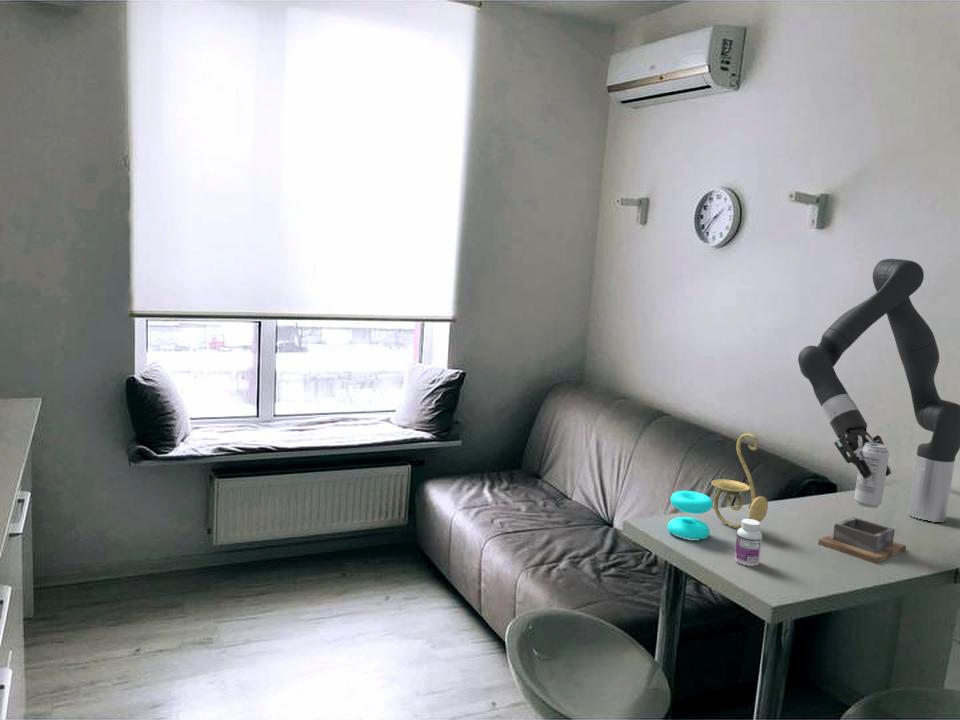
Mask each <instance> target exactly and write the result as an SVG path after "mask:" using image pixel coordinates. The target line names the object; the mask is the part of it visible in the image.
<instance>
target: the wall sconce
mask: <svg viewBox="0 0 960 720" xmlns="http://www.w3.org/2000/svg"><path fill="white" fill-rule="evenodd" d="M745 438H750V439H752V441H753V442H754V446H752V445H751V444H748V445H747V446H748V449H749V450H751V451H752V452H753V451H756V450H757V449H759V447H760V446H759V445H760V443H759V440H758V437H756V436H755V435H754V434H752V433H749V432H747V433H743V434H741V435H740V436H739V437H738V439H737V442H736V452H737V457H738V458H739V461H740V463H741V466H742V468H743V470H744V472H745V476H746V477H747V481H748V484H749V485H748V484H746V483H744V482H742V481H737V480H731V479H722V478H721V479H714V480H711V482H710V483H711V485H712V486H713V487H715V488H716V489H719V490H717V492H716V493H715V495H714V500H713V509H714V511H715V514H716V516H717V518H718V519H719V520H720V521H721V522H722V523H723V522H724V523H726V524H728V525H731V526H732V527H735V528H734V529H740V528H742V527H741V524H735V523H732V522H729V521H728V520H726V519H725V518H724V516H722V514H721V512H720V510H719V506H718V505H719V504H718V502H719V498H720V495H721V494H722V493H724V492H725V493H726V494H727V495H728V496H725V498H726V501H725V502H728V503H731V502H732V500H733V498H732V497H731V496H730V495H733V496H734V497H735V498H736V499H737V502H738V504H737V506H734V505H730V506H729V507H730V508H731V510H733V511H739V510H741V509H742V506H743V498H742V497H741V495H740V494H739V493H743V492H744V493H746V492H749V490H750V494H751V496H750V497H751V503H750V504H749V505H748V509H749V518H748V519H753V520H756V521H759V522H760V523H761V522H762V521H763V520H764V519H765V517H766V515H767V513H768V508H769V504H768V503H769V502H768V499H767V498H766V497H764V496H757V497H756V491H755V486H754V485H755V484H754V482H753V478H752V475H751V472H750V470H749V468H748V466H747V464H746V461H745V459H744V456H743V453H742V450H741V444H742V441H743V440H745ZM724 523H723V524H724ZM726 524H725V525H726ZM728 525H727V526H728ZM732 527H731V528H732Z"/></svg>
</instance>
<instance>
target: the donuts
mask: <svg viewBox="0 0 960 720" xmlns="http://www.w3.org/2000/svg"><path fill="white" fill-rule="evenodd" d="M670 503H671V504H672V506H673V507H674V508H676V509H677V510H678V511H681V512H684V513H687V514H694V515H696V514H697V515H698V514H699V515H700V514H704V513H708V512H709V511H710V510H711V509H712V508H713V507H714V501H713V500H712V499H711V498H710V497H709V496H708V495H707V494H704V493H702V492H701V493H700V492H697V491H692V490H678V491H675V492H674V493H672V494H671V495H670ZM667 530H668V532H669V531H670V532H671V533H673V534H675V535H678V536H681V537H685V538H690V539H703V540H705V539H707V538H708V537H709V536H710V532H711V531H710V528H709V526H708V524H706V523H705V522H704V521H702V520H700V519H697V518H694V517H690V516H689V517H688V516H679V517H673V519H671V520H670V521H669V522H668V524H667ZM670 532H669V533H670ZM671 533H670V534H671ZM704 538H705V539H704Z"/></svg>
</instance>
